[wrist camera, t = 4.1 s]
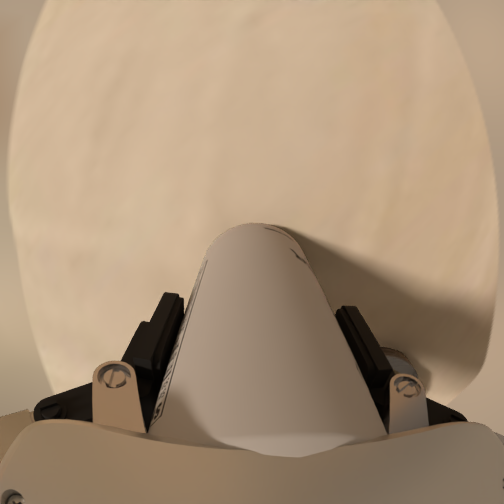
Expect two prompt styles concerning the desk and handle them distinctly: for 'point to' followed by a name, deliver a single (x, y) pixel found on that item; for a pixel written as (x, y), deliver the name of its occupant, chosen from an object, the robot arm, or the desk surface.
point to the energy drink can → (262, 356)
